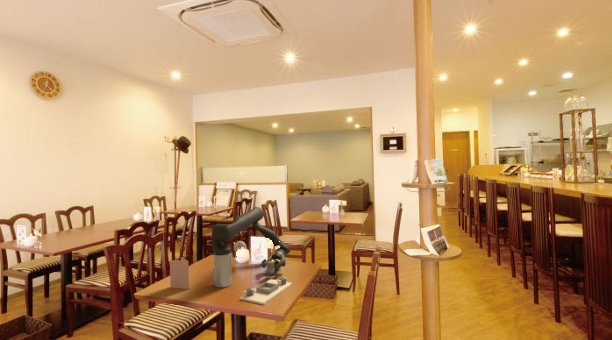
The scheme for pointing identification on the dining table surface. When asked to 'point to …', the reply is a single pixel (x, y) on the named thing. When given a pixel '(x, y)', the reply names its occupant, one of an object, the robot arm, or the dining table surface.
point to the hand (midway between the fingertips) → (270, 266)
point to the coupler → (271, 268)
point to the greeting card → (179, 273)
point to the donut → (239, 245)
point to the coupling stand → (266, 291)
